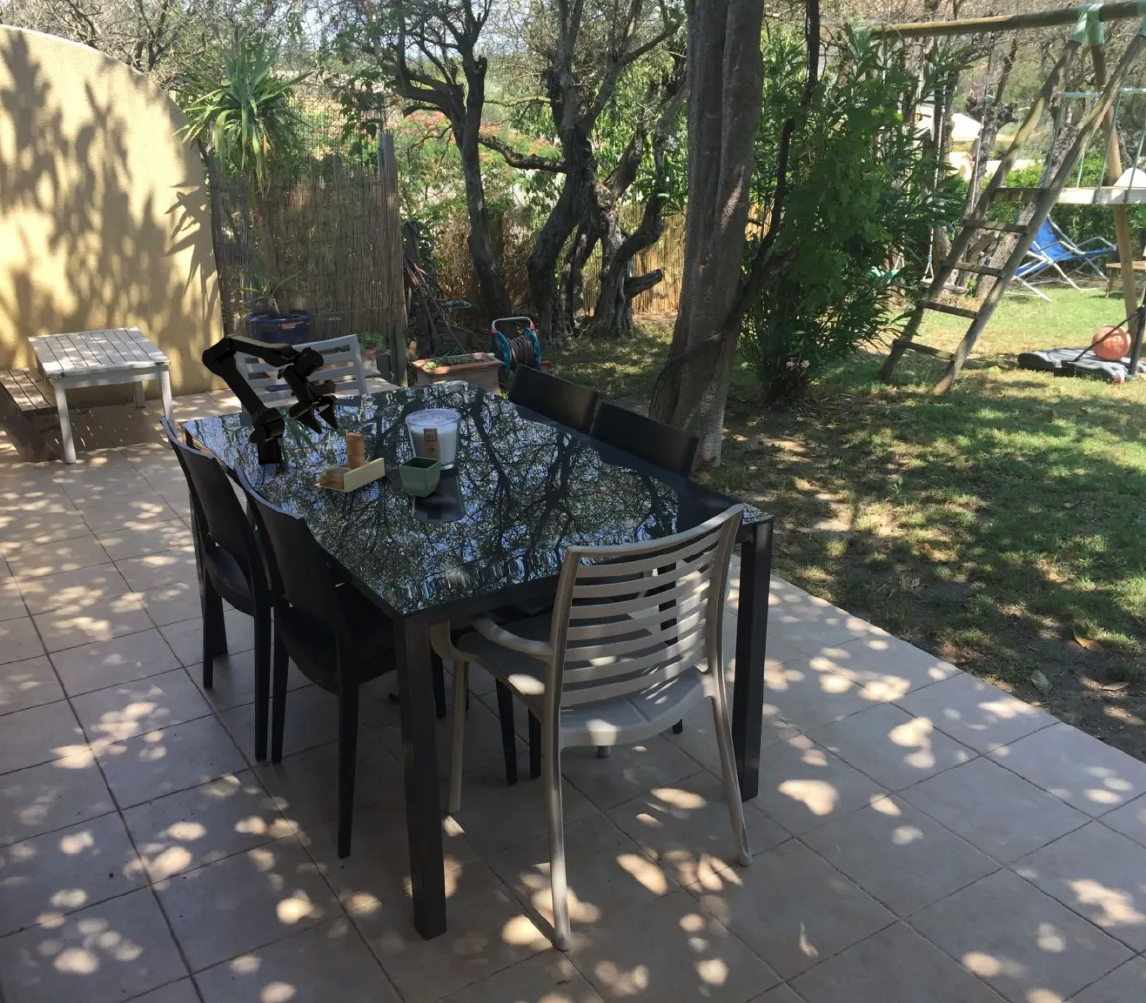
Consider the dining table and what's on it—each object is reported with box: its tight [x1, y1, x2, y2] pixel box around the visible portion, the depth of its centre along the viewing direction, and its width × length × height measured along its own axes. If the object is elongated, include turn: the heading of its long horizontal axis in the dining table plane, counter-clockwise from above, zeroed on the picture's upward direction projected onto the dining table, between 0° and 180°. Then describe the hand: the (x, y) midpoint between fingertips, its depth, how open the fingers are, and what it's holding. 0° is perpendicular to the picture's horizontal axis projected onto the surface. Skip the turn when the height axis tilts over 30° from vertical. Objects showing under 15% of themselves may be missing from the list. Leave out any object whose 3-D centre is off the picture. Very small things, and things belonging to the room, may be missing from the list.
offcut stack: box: [318, 465, 348, 491], centre depth 272 cm, size 8×5×5 cm, turn 63°
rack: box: [314, 457, 386, 493], centre depth 276 cm, size 12×16×6 cm
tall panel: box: [345, 432, 366, 469], centre depth 279 cm, size 4×2×12 cm, turn 63°
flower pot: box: [398, 456, 442, 498], centre depth 269 cm, size 9×9×9 cm
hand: (329, 431), depth 282 cm, fingers open, 9 cm apart
